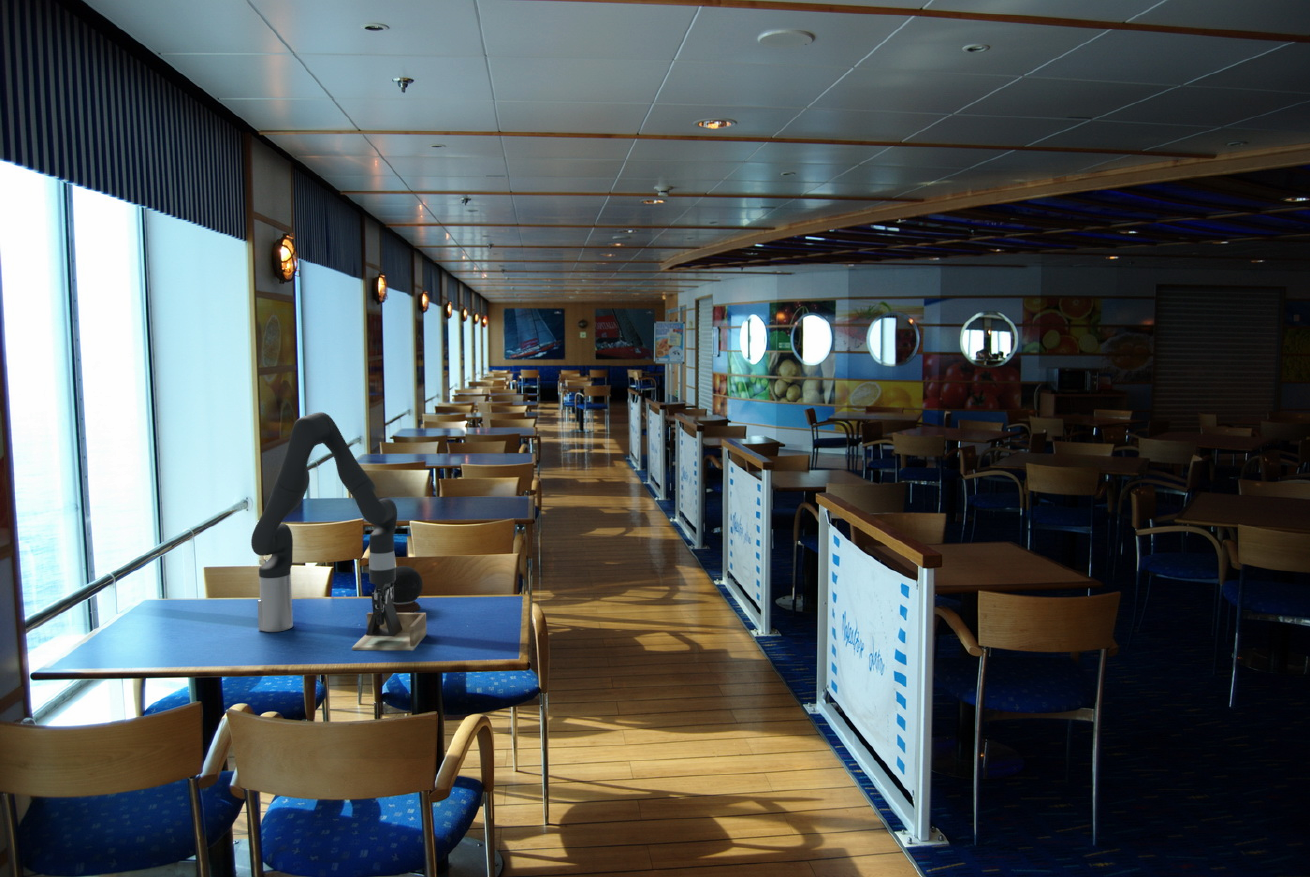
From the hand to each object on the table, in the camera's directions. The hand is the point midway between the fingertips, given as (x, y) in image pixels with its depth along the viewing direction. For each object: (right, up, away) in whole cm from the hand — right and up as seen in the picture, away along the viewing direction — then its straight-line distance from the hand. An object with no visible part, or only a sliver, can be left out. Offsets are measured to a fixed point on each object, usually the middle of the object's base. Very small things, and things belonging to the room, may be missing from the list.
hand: (384, 621), depth 270 cm
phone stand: (0, -4, 0) cm, 4 cm away
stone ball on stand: (-4, -4, +37) cm, 37 cm away
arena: (+1, -7, +3) cm, 7 cm away
